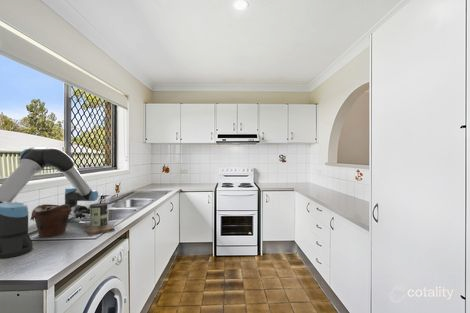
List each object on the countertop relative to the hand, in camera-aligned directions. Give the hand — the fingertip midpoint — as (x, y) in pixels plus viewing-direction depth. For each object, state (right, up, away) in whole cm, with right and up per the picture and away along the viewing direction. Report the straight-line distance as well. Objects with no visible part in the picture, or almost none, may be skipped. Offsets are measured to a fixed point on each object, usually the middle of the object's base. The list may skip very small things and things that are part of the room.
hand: (99, 214), depth 165 cm
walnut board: (+6, -8, -11) cm, 15 cm away
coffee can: (0, -8, -1) cm, 8 cm away
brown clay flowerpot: (-19, -8, -17) cm, 26 cm away
